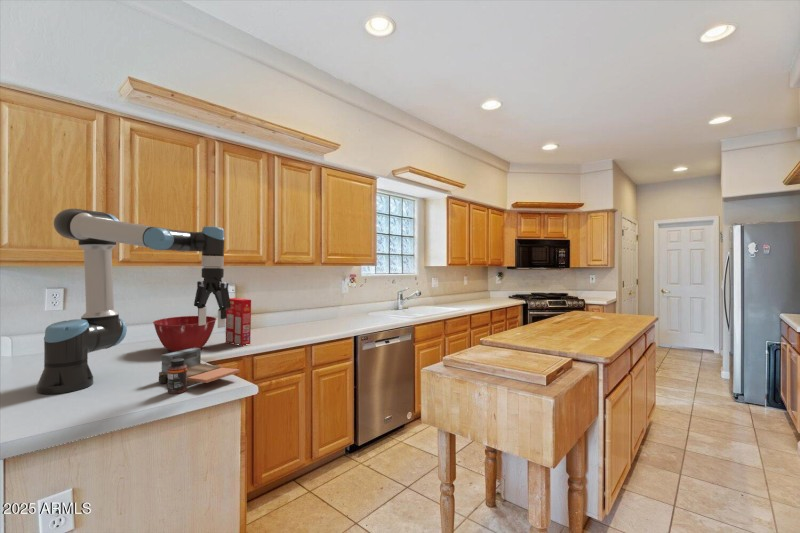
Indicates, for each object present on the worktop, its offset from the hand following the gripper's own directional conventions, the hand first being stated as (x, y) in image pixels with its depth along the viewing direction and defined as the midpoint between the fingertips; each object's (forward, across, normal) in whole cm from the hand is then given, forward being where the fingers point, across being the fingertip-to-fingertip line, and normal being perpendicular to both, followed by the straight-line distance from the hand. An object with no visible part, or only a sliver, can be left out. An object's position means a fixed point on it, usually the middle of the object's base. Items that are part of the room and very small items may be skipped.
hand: (211, 326), depth 143 cm
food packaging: (+22, +44, -54) cm, 73 cm away
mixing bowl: (+22, +56, -31) cm, 68 cm away
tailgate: (+19, +3, 0) cm, 19 cm away
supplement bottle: (+22, +2, +12) cm, 25 cm away
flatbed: (+22, +11, 0) cm, 24 cm away
